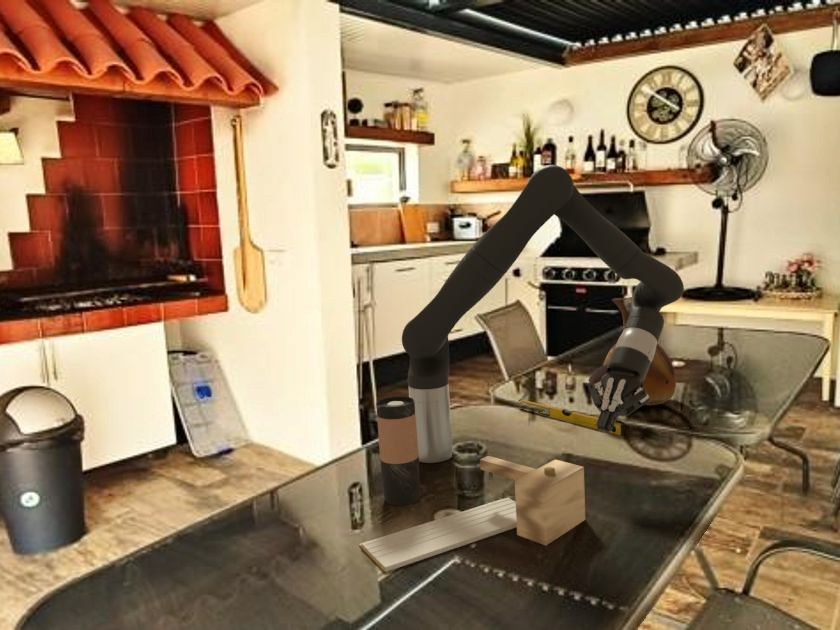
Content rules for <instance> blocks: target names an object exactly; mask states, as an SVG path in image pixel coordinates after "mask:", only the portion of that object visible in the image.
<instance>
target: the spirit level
mask: <svg viewBox="0 0 840 630" xmlns="http://www.w3.org/2000/svg"><path fill="white" fill-rule="evenodd" d="M519 401H521V402H524V403H526V404H529V405H533V406H536V407H539V408H542V409H544V410H545V411H543V412H538V413H537V414H536V415H540V416H544V417H548V418H552V419H556V420H560V421H564V422H567V423H571V424H574V425H575V424H576V425H579V426H583V427H586V428H587V427H588V428H590V429H595V430H598V428H597V425H596V423H597V421H598V418H599V417H597V416H596V417H595V416H592V415H588V414H584V413H579V412H576V411H575V412H574V411H573V412H568V411H566V409H562V408H558V407H554V406H550V405H546V404H542V403H538V402H533V401H529V400H525V399H522V398H520V399H518V402H519ZM625 431H626V426H625V423H620V422H615V424H614V426H613V429H612V430H611V431H609V433H610V434H615V435H619V436H620V437H622V436H623V435H626V433H625Z"/></svg>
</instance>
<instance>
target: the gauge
mask: <svg viewBox="0 0 840 630" xmlns="http://www.w3.org/2000/svg"><path fill="white" fill-rule="evenodd" d="M479 464H480V467H479V468H480V470H481V471H484V472H488V478H489V481H493V480H494V474H495V475H497V476H500V477H504V478H508V479H510V480H514V494H515V496H514V499H515V502H516V520H517V527H516V535H517V536H519V537H522V538H524V539H527V540H530V541H532V542H535V543H538V544H541V545H543V546H548V545H549V544H550V543H551V544H552V543H553V542H554V541H555V540H557V539H558V538H559V537H561V536H563V535H565V534H566V533H567V532H569V531H571V530H572V529H574V528H575V527H576V526H578V525H580V524H582V522H584V521H585V520H586V504H585V503H586V502H585V499H586V497H585V466H582V465H577V464H574V463H569V462H566V461H563V460H560V459H559V460H558V459H553V460H551V461H549V462H547V463H546V464H543V465H542V466H540V467H538V468H533V467H529V466H527V465H523V464H519V463H515V462H512V461H508V460H506V459H501V458H497V457H494V456H490V455H487V456H484V457H482V458H480V459H479Z"/></svg>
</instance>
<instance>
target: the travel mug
mask: <svg viewBox="0 0 840 630" xmlns="http://www.w3.org/2000/svg"><path fill="white" fill-rule="evenodd" d="M375 405H376V418H377V431H378V432H377V433H378V435H377V436H378V446H379V447H378V448H379V458H380V460H379V461H380V469H381V470H380V471H381V479H382V488H383V497H384V501H385V502H386V503H387V504H389V505H392V506H399V507H401V506H409V505H412V504H414V503H416V502H418V501H419V500H420V498H421V487H420V486H421V483H420V462H419V454H418V441H417V429H416V416H415V403H414V399H413V398H410V397H409V396H403V395H402V396H401V395H399V396H398V395H397V396H396V395H395V396H389V397H385V398H381V399H379V400H378V401H376V403H375Z"/></svg>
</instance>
